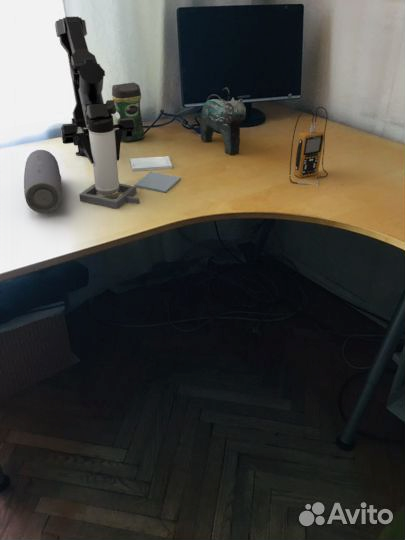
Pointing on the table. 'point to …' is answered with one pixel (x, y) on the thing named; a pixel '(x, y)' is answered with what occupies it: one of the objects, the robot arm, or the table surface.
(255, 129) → the table surface
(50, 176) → the bluetooth speaker
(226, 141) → the animal figurine
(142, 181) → the mat
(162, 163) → the hard drive
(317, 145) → the multimeter
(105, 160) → the travel mug
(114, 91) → the coffee jar
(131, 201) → the collar
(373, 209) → the table surface
